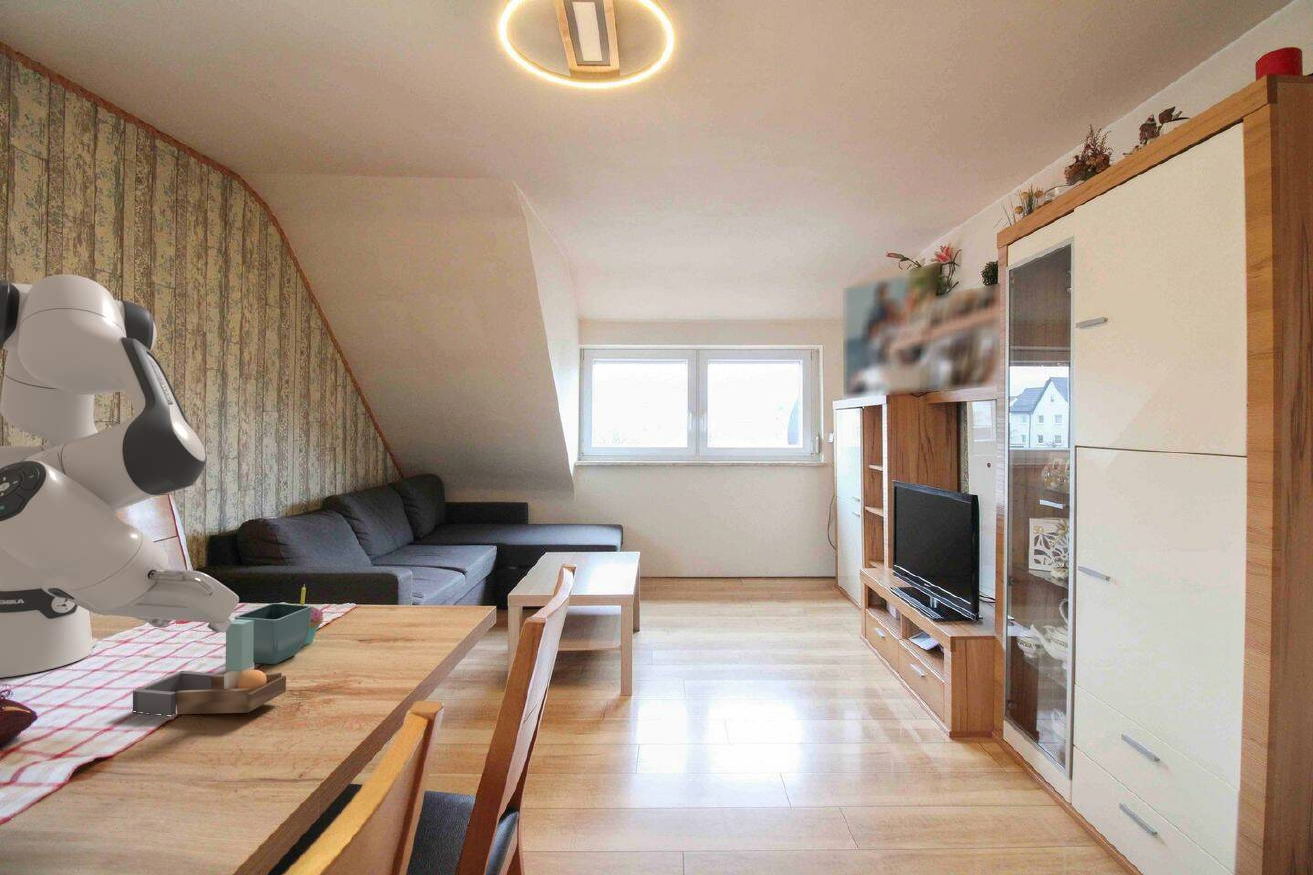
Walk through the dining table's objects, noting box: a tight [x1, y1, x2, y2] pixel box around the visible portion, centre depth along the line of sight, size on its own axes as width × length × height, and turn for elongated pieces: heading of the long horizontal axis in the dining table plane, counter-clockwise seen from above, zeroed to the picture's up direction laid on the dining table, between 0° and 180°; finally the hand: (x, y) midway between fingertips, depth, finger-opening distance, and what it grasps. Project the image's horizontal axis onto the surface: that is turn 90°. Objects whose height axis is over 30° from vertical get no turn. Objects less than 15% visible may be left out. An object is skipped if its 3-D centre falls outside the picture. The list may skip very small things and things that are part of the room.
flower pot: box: [234, 602, 313, 665], centre depth 107 cm, size 9×9×9 cm
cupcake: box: [299, 583, 324, 646], centre depth 115 cm, size 9×8×12 cm
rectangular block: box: [223, 619, 255, 689], centre depth 87 cm, size 3×4×11 cm, turn 171°
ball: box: [237, 669, 267, 692], centre depth 87 cm, size 4×4×4 cm
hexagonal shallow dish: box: [175, 672, 287, 715], centre depth 88 cm, size 13×6×4 cm, turn 81°
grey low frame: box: [132, 670, 219, 716], centre depth 89 cm, size 7×8×3 cm
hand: (194, 624), depth 80 cm, fingers open, 8 cm apart
